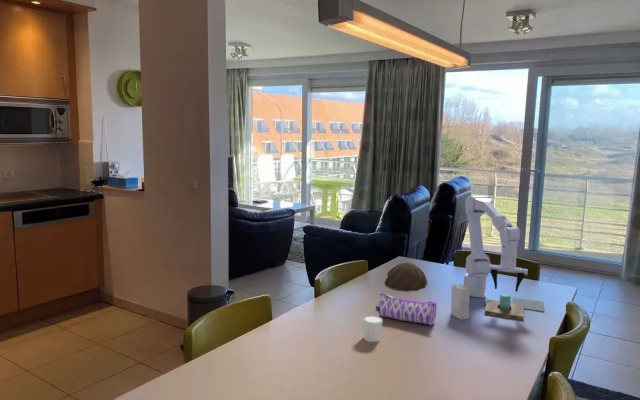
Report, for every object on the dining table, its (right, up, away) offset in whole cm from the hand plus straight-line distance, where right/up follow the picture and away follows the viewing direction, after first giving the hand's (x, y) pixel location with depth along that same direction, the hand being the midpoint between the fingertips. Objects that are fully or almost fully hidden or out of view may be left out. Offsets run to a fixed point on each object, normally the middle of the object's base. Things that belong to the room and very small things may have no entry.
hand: (506, 289), depth 189 cm
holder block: (0, -9, +1) cm, 9 cm away
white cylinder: (-57, -12, -27) cm, 64 cm away
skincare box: (-20, -10, -5) cm, 23 cm away
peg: (0, -9, +1) cm, 9 cm away
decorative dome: (-34, -4, +35) cm, 48 cm away
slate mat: (+13, -8, +9) cm, 17 cm away
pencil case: (-42, -10, -9) cm, 44 cm away
